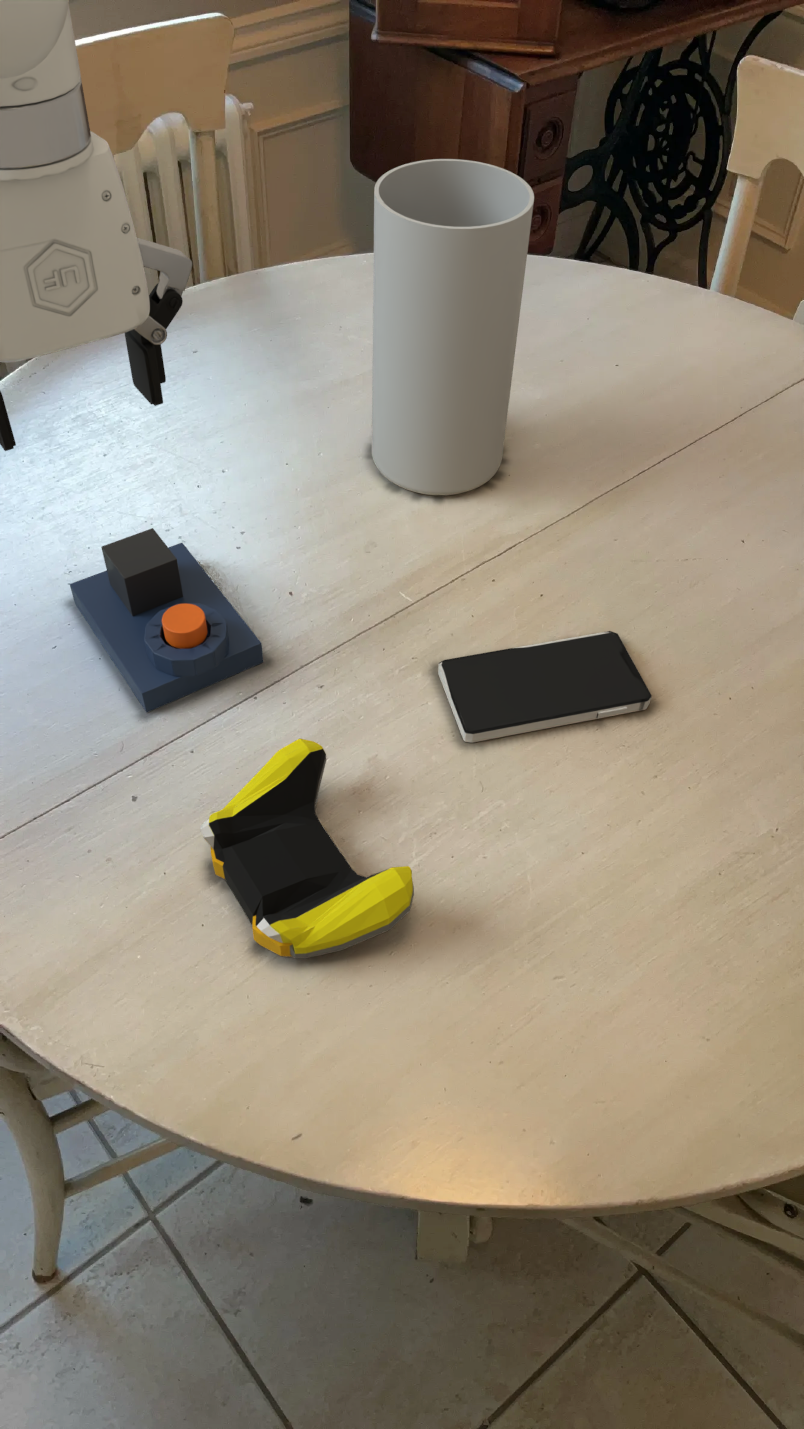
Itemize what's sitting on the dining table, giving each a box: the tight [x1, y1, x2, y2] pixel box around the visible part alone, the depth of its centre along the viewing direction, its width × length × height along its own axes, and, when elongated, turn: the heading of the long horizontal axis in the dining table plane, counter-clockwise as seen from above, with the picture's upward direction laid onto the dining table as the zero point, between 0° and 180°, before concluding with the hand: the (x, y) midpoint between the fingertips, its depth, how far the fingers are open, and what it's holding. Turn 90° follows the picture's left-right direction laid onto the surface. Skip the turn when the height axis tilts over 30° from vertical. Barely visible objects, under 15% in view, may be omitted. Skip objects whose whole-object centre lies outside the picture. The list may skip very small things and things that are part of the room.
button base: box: [69, 542, 264, 713], centre depth 83 cm, size 15×10×4 cm
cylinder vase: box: [371, 158, 535, 496], centre depth 92 cm, size 12×12×25 cm
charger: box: [101, 527, 183, 616], centre depth 83 cm, size 5×4×4 cm
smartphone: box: [437, 630, 653, 743], centre depth 82 cm, size 8×1×15 cm
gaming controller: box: [200, 738, 415, 959], centre depth 68 cm, size 15×6×10 cm
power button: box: [162, 603, 207, 649], centre depth 79 cm, size 3×3×2 cm
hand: (77, 416), depth 66 cm, fingers open, 9 cm apart
